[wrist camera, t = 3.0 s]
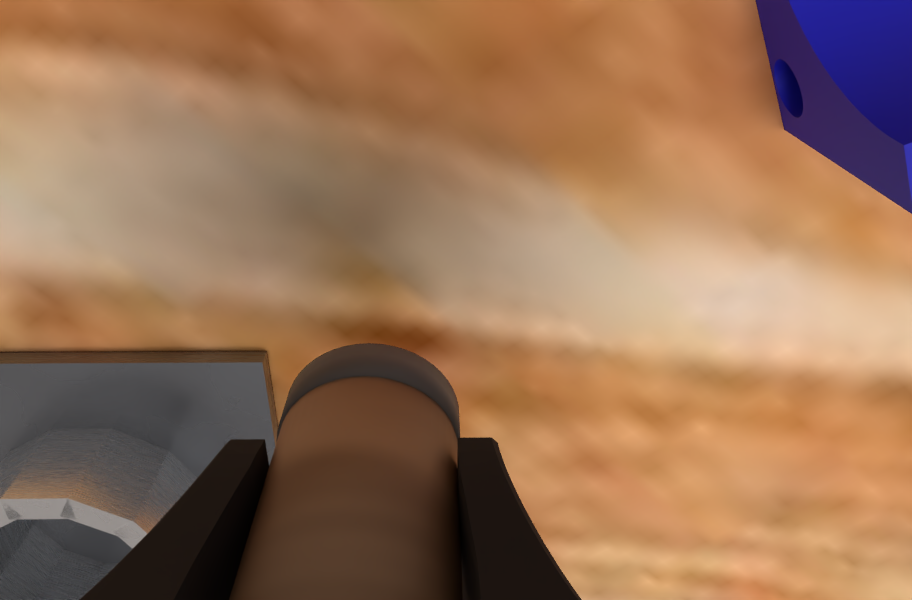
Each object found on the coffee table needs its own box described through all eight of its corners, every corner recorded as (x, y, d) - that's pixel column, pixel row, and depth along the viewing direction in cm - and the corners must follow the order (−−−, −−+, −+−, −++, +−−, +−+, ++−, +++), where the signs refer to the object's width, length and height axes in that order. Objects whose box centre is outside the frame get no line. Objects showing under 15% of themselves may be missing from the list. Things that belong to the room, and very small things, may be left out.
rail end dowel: (458, 478, 15) (467, 779, 10) (295, 480, 15) (220, 784, 10) (459, 343, 14) (472, 619, 8) (276, 343, 13) (173, 624, 8)
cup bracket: (304, 606, 28) (287, 697, 25) (-6, 610, 27) (-64, 702, 24) (266, 351, 22) (237, 427, 19) (-130, 352, 21) (-227, 430, 18)
